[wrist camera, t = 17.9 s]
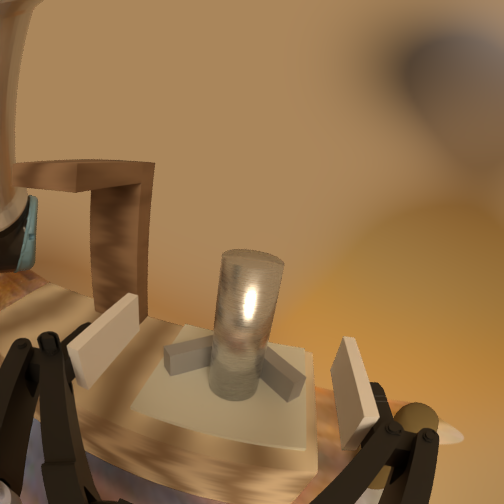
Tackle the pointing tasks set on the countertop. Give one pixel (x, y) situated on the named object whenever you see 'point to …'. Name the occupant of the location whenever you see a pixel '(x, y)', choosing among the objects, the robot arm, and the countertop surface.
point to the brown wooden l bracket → (106, 219)
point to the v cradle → (223, 411)
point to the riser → (153, 430)
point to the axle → (243, 321)
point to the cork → (412, 421)
